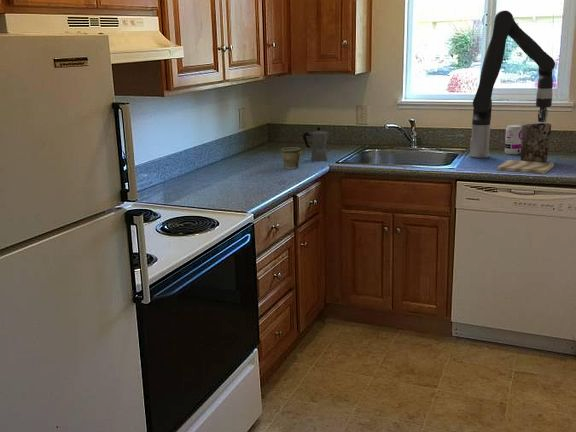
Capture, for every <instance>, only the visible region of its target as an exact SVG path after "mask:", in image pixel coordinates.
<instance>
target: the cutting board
mask: <svg viewBox="0 0 576 432" xmlns="http://www.w3.org/2000/svg"><path fill="white" fill-rule="evenodd" d="M554 166H555V162H554V163H553V162H546V161H544V162H531V161H521V160H516V159H515V160H514V159H507V160H505V161H504V162H502V163H501V164H499V165H498V166H497V167H496V170H497V171H503V172H504V171H505V172H506V171H507V172H515V173H516V172H518V173H519V172H520V173H531V174H532V173H533V174H541V173H542V174H543V175H544V174H545V173H546V174H547V173H548V172H549V171H550V170H551V169H552V168H554Z"/></svg>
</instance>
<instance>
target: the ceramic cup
mask: <svg viewBox="0 0 576 432" xmlns="http://www.w3.org/2000/svg"><path fill="white" fill-rule="evenodd" d="M280 151H281V156H282V159H283V160H282V161H283V164H284V168H285V169H286V168H287V169H286V170H296V169H295V168H297V169H299V162H300V160H301V159H302V158H303V157H304V156H305V152H304V151H303V150H301V148H300V147H297V146H296V147H295V146H294V147H292V146H291V147H282V148H281V149H280ZM301 153H302V156H301Z"/></svg>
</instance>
